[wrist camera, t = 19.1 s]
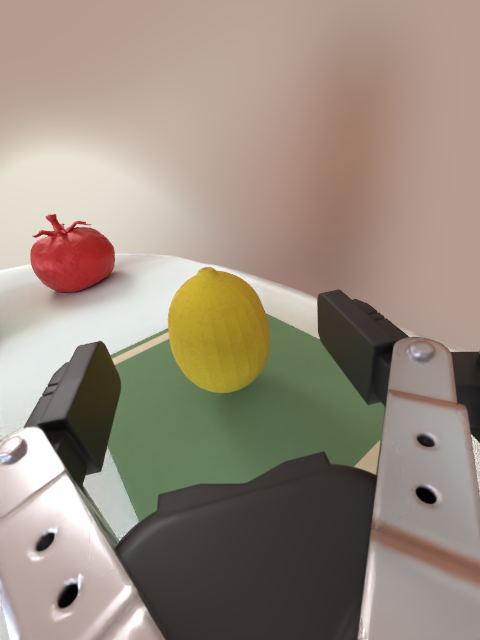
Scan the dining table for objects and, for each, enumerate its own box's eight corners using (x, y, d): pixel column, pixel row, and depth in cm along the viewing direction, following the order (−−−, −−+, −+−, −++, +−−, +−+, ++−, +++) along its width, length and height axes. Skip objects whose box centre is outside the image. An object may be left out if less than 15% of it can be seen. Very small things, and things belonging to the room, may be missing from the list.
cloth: (220, 711, 8) (217, 708, 8) (78, 375, 23) (76, 370, 23) (461, 414, 15) (463, 407, 15) (233, 300, 30) (233, 296, 30)
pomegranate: (136, 271, 42) (112, 202, 37) (71, 303, 35) (31, 225, 31) (96, 265, 47) (70, 205, 43) (33, 293, 41) (-6, 224, 36)
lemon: (253, 349, 22) (236, 242, 18) (292, 399, 17) (282, 269, 13) (180, 376, 20) (143, 266, 16) (201, 438, 16) (157, 307, 12)
